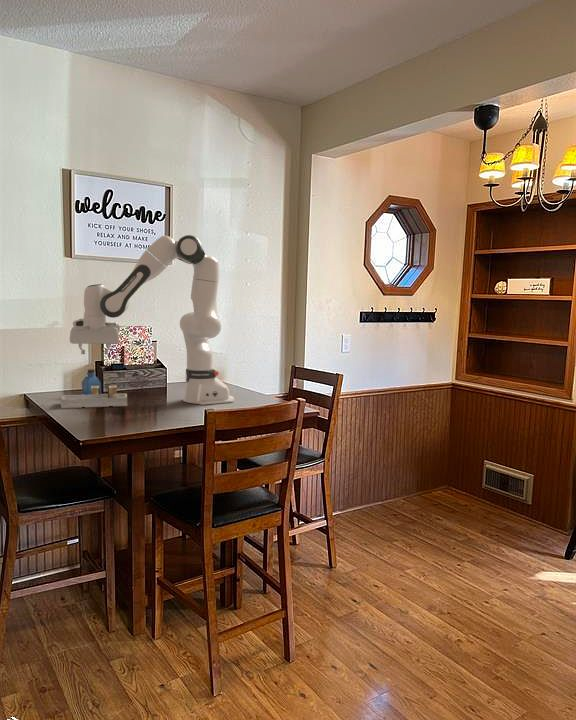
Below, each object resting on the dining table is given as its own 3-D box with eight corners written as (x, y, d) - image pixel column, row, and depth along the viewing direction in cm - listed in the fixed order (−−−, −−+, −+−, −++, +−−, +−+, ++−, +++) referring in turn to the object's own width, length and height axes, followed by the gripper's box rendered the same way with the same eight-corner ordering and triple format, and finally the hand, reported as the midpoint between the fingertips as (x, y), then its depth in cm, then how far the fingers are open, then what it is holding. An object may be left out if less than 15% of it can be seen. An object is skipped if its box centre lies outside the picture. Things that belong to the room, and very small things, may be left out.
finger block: (100, 399, 253) (99, 385, 252) (99, 401, 248) (99, 387, 248) (91, 399, 252) (91, 385, 251) (91, 401, 247) (91, 388, 247)
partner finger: (108, 401, 241) (107, 387, 240) (108, 399, 245) (107, 385, 245) (116, 401, 242) (116, 387, 241) (116, 399, 246) (116, 385, 246)
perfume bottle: (101, 396, 259) (100, 370, 257) (87, 397, 255) (87, 371, 253) (95, 394, 264) (94, 368, 262) (82, 395, 259) (81, 369, 258)
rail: (126, 401, 250) (126, 393, 250) (127, 405, 241) (127, 397, 240) (63, 403, 243) (62, 395, 242) (61, 408, 233) (60, 399, 233)
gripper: (120, 322, 252) (119, 353, 253) (70, 321, 246) (70, 353, 248) (120, 323, 246) (119, 355, 247) (69, 322, 240) (69, 355, 242)
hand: (94, 354), depth 247 cm, fingers open, 8 cm apart
